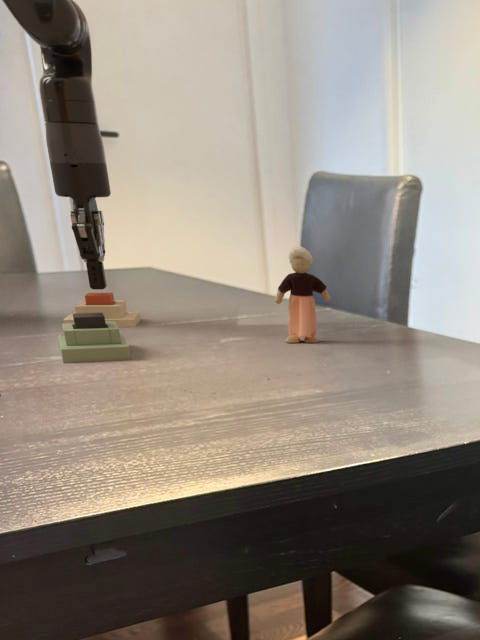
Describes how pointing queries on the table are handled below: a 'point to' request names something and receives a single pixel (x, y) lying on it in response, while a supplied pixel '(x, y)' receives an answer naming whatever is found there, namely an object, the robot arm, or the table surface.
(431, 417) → the table surface
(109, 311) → the beige stepped base
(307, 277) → the grandmother figurine
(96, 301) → the key back
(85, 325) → the key front
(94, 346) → the green stepped pyramid
